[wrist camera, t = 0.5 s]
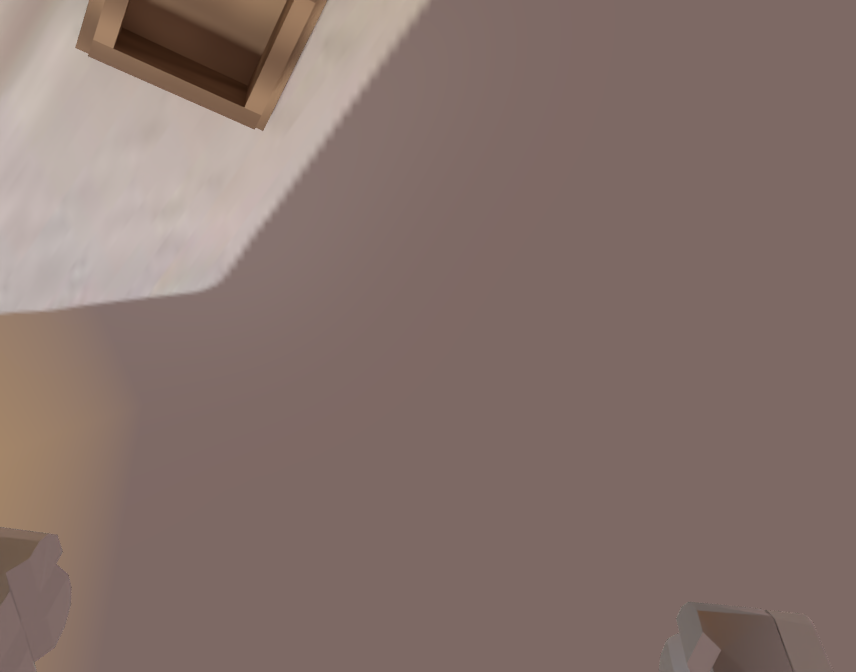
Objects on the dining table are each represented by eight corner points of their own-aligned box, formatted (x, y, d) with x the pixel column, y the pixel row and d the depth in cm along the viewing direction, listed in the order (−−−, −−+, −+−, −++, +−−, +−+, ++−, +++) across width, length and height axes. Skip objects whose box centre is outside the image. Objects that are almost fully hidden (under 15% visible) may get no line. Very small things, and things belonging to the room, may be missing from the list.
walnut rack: (142, -175, 44) (128, -155, 41) (350, -55, 49) (351, -29, 46) (79, 39, 52) (64, 69, 49) (264, 122, 57) (260, 153, 54)
